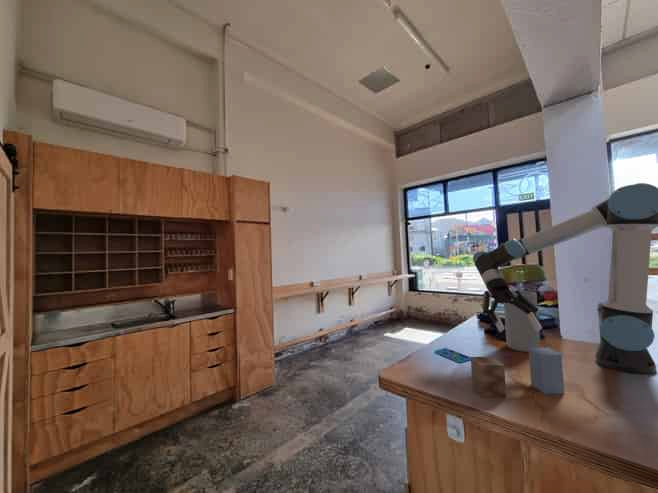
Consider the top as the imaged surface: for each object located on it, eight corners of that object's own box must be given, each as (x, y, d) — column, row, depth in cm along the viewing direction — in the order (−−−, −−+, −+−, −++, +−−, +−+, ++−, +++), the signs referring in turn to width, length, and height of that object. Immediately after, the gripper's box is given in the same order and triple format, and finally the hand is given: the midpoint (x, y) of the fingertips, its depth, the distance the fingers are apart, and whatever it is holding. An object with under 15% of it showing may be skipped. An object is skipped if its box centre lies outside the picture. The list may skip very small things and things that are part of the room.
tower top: (493, 371, 90) (492, 356, 90) (505, 381, 83) (504, 365, 83) (471, 371, 91) (470, 356, 91) (481, 381, 84) (480, 365, 84)
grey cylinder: (500, 343, 129) (497, 291, 130) (527, 342, 128) (523, 290, 129) (518, 353, 116) (514, 295, 117) (548, 352, 116) (543, 293, 117)
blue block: (550, 384, 89) (547, 347, 90) (564, 393, 83) (561, 354, 84) (531, 384, 90) (528, 348, 90) (543, 393, 84) (540, 354, 84)
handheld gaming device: (446, 347, 126) (474, 357, 112) (446, 349, 126) (474, 360, 112) (432, 350, 123) (459, 361, 109) (432, 352, 123) (460, 364, 109)
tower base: (494, 386, 90) (493, 371, 90) (506, 398, 83) (505, 381, 83) (472, 387, 91) (471, 371, 91) (482, 398, 84) (481, 381, 84)
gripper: (520, 287, 116) (548, 334, 101) (462, 288, 115) (482, 335, 101) (529, 276, 110) (561, 324, 95) (468, 277, 110) (491, 325, 95)
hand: (520, 330), depth 98 cm, fingers open, 13 cm apart
